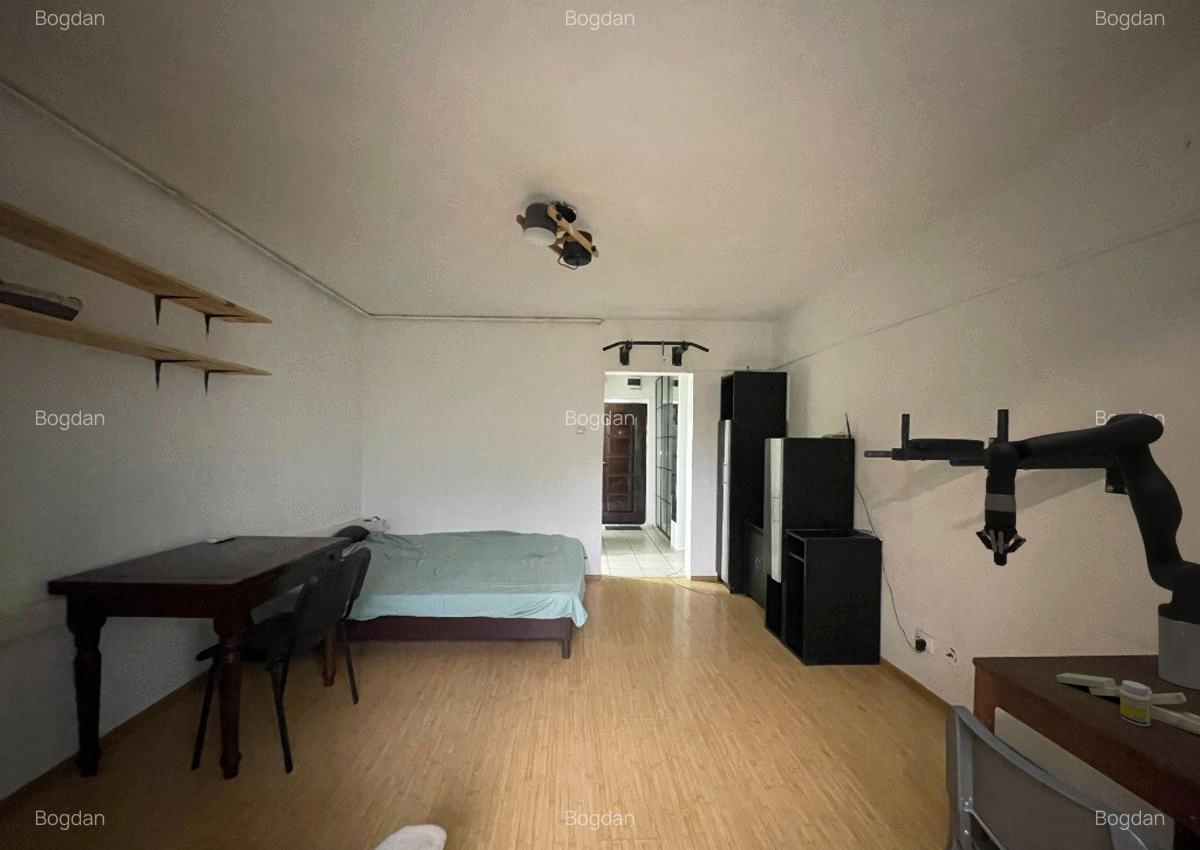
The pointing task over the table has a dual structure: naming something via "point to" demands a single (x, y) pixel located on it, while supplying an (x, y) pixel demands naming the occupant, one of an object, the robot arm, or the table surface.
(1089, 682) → the domino
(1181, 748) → the table surface
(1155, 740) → the table surface
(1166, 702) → the domino
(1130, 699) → the supplement bottle
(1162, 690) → the table surface
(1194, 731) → the domino
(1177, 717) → the domino
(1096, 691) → the domino
